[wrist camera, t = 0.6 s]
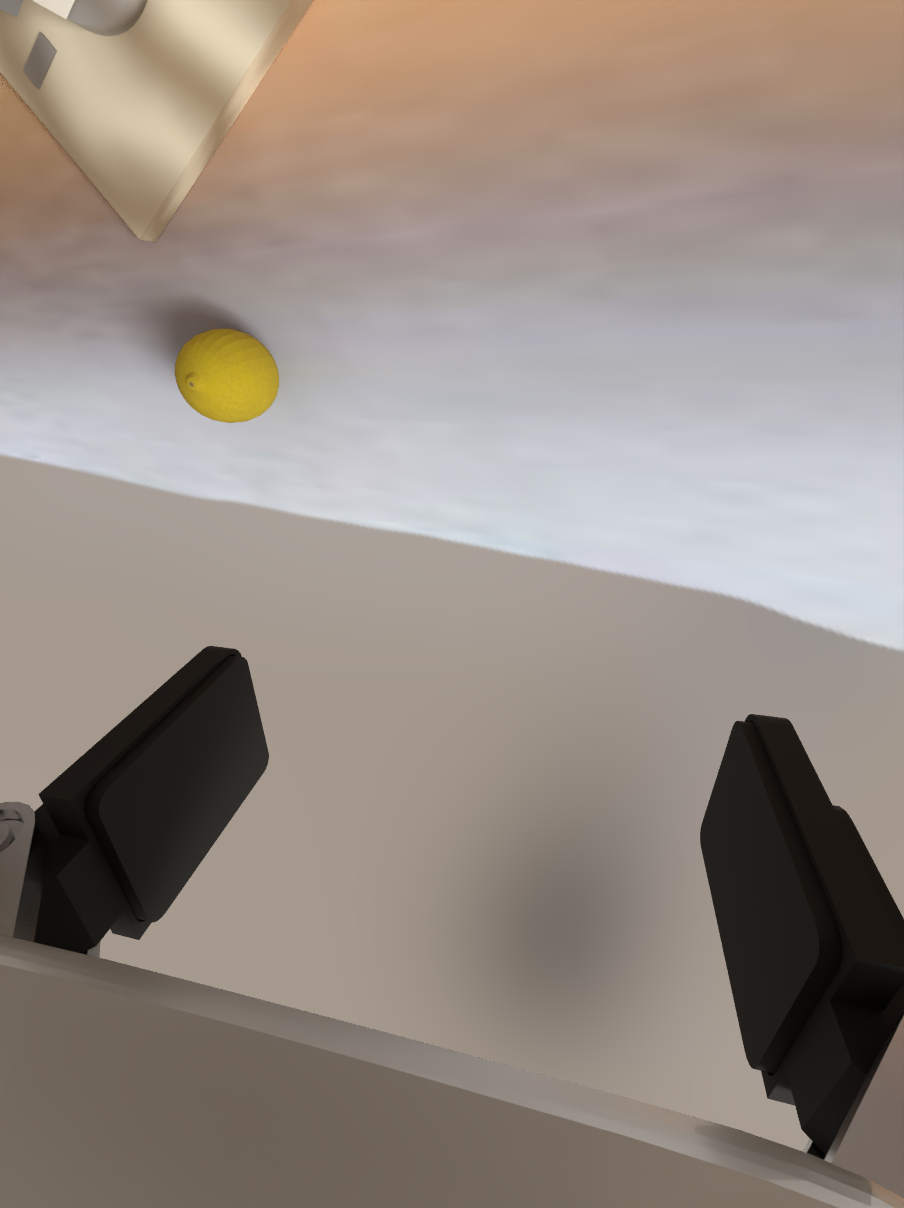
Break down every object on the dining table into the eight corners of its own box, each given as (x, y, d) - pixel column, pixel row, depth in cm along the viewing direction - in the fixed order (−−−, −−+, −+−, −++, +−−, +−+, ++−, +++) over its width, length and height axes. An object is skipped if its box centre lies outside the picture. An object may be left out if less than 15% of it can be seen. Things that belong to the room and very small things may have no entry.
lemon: (216, 382, 39) (138, 397, 32) (241, 309, 36) (161, 308, 29) (281, 427, 40) (217, 451, 33) (311, 359, 37) (248, 369, 30)
